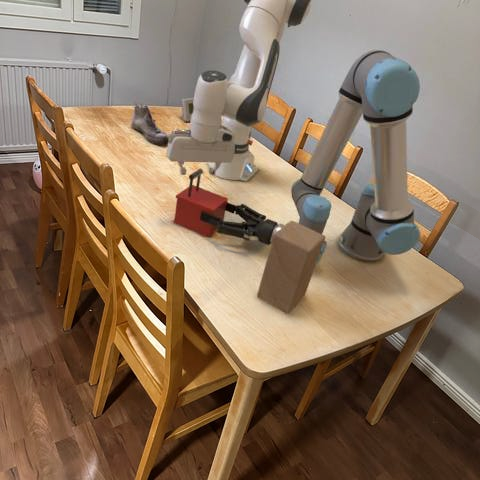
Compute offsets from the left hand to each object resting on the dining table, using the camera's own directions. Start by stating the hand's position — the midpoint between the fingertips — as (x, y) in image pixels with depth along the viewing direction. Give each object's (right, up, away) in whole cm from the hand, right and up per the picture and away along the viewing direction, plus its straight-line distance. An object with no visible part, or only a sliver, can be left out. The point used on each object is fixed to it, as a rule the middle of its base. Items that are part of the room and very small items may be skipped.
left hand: (197, 174), depth 134 cm
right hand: (+3, -10, +4) cm, 11 cm away
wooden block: (+24, -35, -15) cm, 45 cm away
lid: (+1, -7, +3) cm, 8 cm away
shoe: (-27, +26, +62) cm, 73 cm away
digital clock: (-11, +42, +92) cm, 102 cm away
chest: (0, -15, +8) cm, 17 cm away
